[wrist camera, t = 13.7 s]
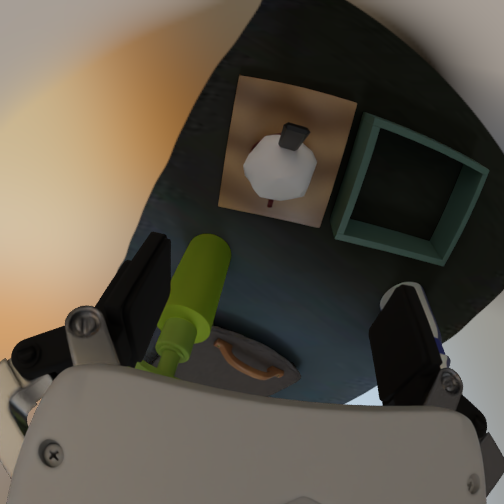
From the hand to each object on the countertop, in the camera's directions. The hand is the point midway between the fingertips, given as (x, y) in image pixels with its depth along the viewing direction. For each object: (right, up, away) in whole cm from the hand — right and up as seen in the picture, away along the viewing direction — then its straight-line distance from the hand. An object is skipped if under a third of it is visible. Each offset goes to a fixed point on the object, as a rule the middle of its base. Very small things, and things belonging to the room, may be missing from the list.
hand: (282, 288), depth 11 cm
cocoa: (+2, +12, +18) cm, 21 cm away
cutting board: (+2, +12, +19) cm, 23 cm away
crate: (+17, +9, +19) cm, 27 cm away
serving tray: (-10, -24, +45) cm, 52 cm away
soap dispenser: (-7, +2, +28) cm, 28 cm away
